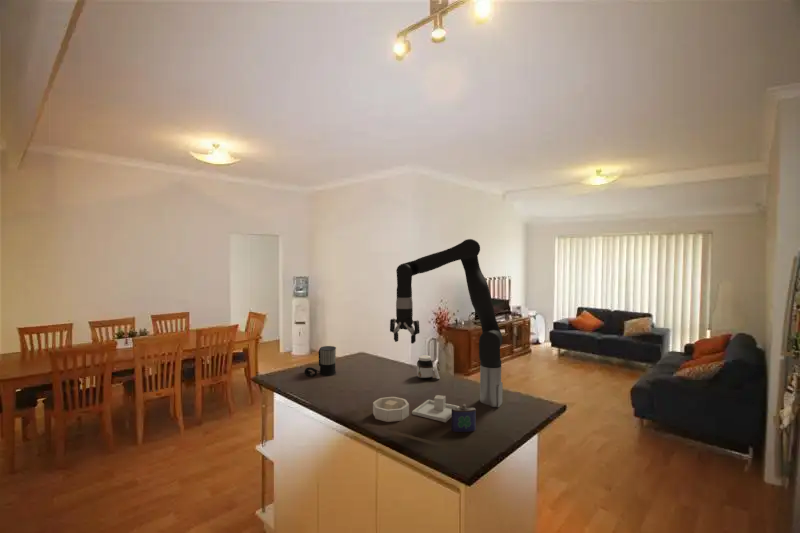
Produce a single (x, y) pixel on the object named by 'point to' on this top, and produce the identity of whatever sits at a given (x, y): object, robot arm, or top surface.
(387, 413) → the bowl
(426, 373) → the spread jar
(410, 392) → the top surface
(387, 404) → the cream wooden brick
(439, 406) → the pebble grey
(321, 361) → the milk frother
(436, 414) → the tray
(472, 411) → the flask
